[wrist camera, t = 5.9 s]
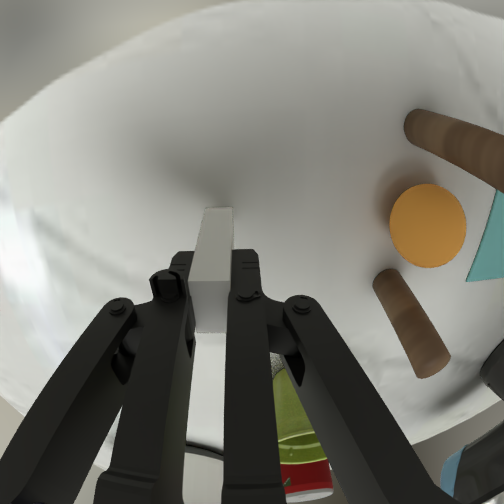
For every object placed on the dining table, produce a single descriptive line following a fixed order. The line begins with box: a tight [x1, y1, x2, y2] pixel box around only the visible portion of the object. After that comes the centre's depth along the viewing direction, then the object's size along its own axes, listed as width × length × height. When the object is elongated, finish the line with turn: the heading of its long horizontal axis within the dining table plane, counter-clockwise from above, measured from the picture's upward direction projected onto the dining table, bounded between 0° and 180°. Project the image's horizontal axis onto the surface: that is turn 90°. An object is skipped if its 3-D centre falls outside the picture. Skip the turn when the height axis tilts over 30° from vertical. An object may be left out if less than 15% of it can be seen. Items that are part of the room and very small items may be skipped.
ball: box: [389, 184, 466, 268], centre depth 17 cm, size 6×6×6 cm
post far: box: [373, 269, 451, 379], centre depth 19 cm, size 3×3×9 cm
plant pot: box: [273, 368, 327, 464], centre depth 25 cm, size 9×9×9 cm
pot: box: [182, 445, 223, 504], centre depth 38 cm, size 33×23×14 cm
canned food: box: [280, 459, 333, 503], centre depth 34 cm, size 8×8×11 cm
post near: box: [404, 109, 504, 194], centre depth 12 cm, size 3×3×9 cm
